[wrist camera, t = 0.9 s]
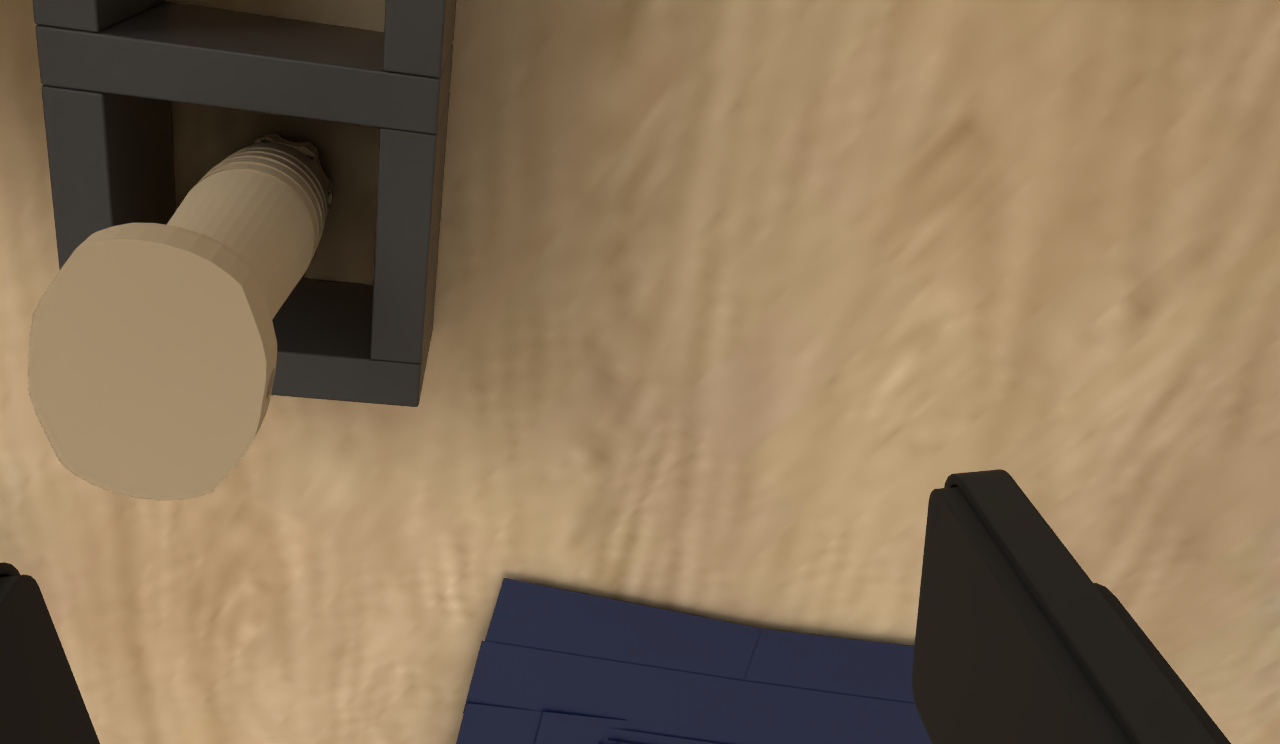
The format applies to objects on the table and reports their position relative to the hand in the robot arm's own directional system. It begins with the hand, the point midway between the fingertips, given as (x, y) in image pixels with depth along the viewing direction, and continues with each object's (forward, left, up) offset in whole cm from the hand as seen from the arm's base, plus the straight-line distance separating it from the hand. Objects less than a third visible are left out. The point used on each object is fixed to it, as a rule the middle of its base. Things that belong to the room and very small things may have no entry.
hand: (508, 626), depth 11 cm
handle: (+4, -8, -28) cm, 29 cm away
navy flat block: (+37, +11, -28) cm, 47 cm away
